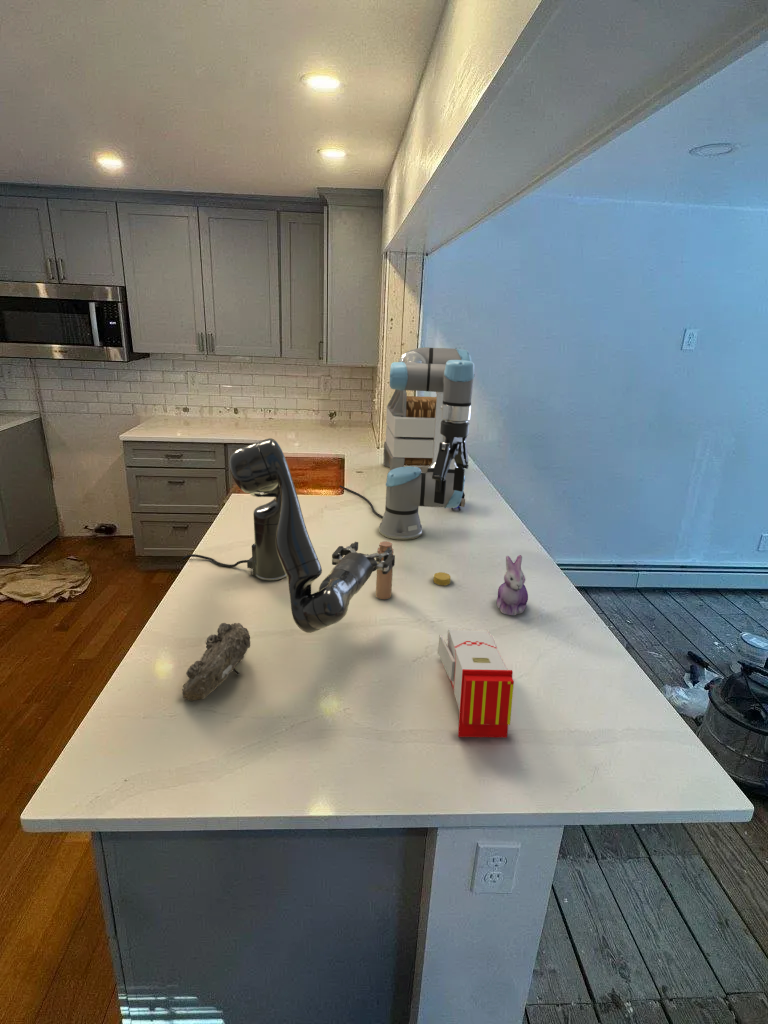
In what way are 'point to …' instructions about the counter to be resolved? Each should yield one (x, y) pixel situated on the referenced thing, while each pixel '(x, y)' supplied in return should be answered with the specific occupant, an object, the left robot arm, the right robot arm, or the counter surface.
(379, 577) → the jar
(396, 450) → the white storage crate
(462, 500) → the figurine character
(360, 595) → the counter surface
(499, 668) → the toy
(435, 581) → the lid
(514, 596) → the figurine
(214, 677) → the fossil
